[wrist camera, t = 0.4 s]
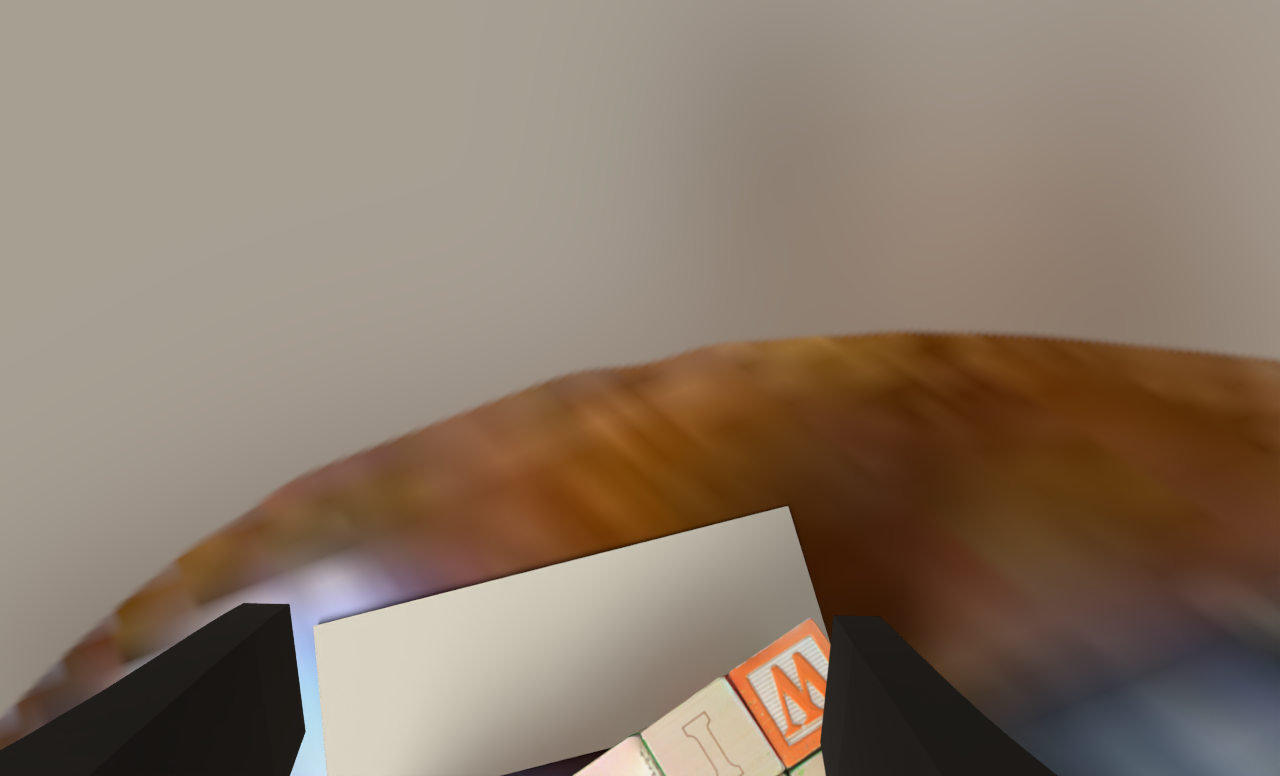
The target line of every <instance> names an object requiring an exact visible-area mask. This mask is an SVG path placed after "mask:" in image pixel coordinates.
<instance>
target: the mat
mask: <svg viewBox="0 0 1280 776" xmlns="http://www.w3.org/2000/svg"><path fill="white" fill-rule="evenodd" d="M809 617H810V618H813V620H814V621H815V622H816V624H817V625H818V626H819V628H820V629H821V631H822V632H823V633H824V635H825V636H826V638H827V639H828V641H829V638H828V635H827V631H826V628H825V625H824V622H823V618H822V615H821V612H820V609H819V605H818V602H817V599H816V595H815V592H814V589H813V586H812V582H811V579H810V576H809V573H808V569H807V566H806V563H805V560H804V556H803V553H802V550H801V546H800V543H799V540H798V537H797V533H796V530H795V527H794V524H793V520H792V517H791V514H790V510H789V507H788V506H786V507H782V508H778V509H774V510H770V511H766V512H762V513H758V514H754V515H750V516H746V517H742V518H738V519H734V520H730V521H726V522H722V523H718V524H714V525H711V526H707V527H703V528H699V529H695V530H691V531H687V532H683V533H679V534H675V535H671V536H667V537H663V538H659V539H655V540H651V541H647V542H643V543H639V544H635V545H632V546H628V547H624V548H620V549H616V550H612V551H608V552H604V553H600V554H596V555H592V556H588V557H584V558H580V559H576V560H572V561H568V562H564V563H560V564H556V565H553V566H549V567H545V568H541V569H537V570H533V571H529V572H525V573H521V574H517V575H513V576H509V577H505V578H501V579H497V580H493V581H489V582H485V583H481V584H477V585H474V586H470V587H466V588H462V589H458V590H454V591H450V592H446V593H442V594H438V595H434V596H430V597H426V598H422V599H418V600H414V601H410V602H406V603H402V604H398V605H395V606H391V607H387V608H383V609H379V610H375V611H371V612H367V613H363V614H359V615H355V616H351V617H347V618H343V619H339V620H335V621H331V622H327V623H323V624H319V625H316V626H313V628H314V639H315V650H316V660H317V671H318V682H319V693H320V704H321V714H322V725H323V736H324V747H325V758H326V768H327V776H501V775H505V774H509V773H513V772H517V771H521V770H525V769H529V768H533V767H537V766H541V765H545V764H549V763H552V762H556V761H560V760H564V759H568V758H572V757H576V756H580V755H584V754H588V753H592V752H596V751H600V750H604V749H608V748H612V747H613V746H615V745H616V744H618V743H620V742H621V741H622V740H624V739H625V738H627V737H628V736H630V735H632V734H635V733H637V732H638V731H640V730H641V729H643V728H645V727H648V726H650V725H652V724H653V723H654V722H656V721H657V720H659V719H660V718H661V717H663V716H664V715H666V714H667V713H668V712H670V711H671V710H673V709H674V708H676V707H677V706H678V705H680V704H681V703H683V702H684V701H685V700H687V699H688V698H690V697H691V696H692V695H694V694H695V693H697V692H698V691H700V690H701V689H702V688H704V687H705V686H707V685H708V684H709V683H711V682H712V681H714V680H715V679H716V678H718V677H719V676H722V675H727V674H728V673H729V672H730V671H731V670H732V669H733V668H735V667H736V666H738V665H739V664H741V663H742V662H744V661H745V660H747V659H748V658H750V657H751V656H753V655H754V654H756V653H757V652H759V651H760V650H762V649H763V648H765V647H766V646H768V645H769V644H771V643H772V642H774V641H775V640H776V639H778V638H779V637H781V636H782V635H784V634H785V633H787V632H788V631H790V630H791V629H792V628H794V627H795V626H797V625H798V624H800V623H801V622H803V621H804V620H806V619H807V618H809ZM829 642H830V641H829Z"/></svg>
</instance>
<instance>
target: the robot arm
mask: <svg viewBox="0 0 1280 776" xmlns="http://www.w3.org/2000/svg"><path fill="white" fill-rule="evenodd" d="M305 732H306V731H305V724H304V716H303V708H302V700H301V692H300V684H299V676H298V668H297V660H296V652H295V645H294V637H293V629H292V621H291V613H290V605H289V604H257V603H243V604H241V605H239V606H238V607H236V608H234V609H232V610H230V611H228V612H227V613H225V614H223V615H222V616H220V617H218V618H217V619H215V620H213V621H212V622H210V623H209V624H207V625H205V626H204V627H202V628H201V629H199V630H197V631H196V632H194V633H193V634H191V635H190V636H188V637H187V638H185V639H183V640H182V641H180V642H179V643H177V644H176V645H174V646H173V647H171V648H169V649H168V650H166V651H165V652H163V653H162V654H160V655H159V656H157V657H155V658H154V659H152V660H151V661H149V662H148V663H146V664H144V665H143V666H141V667H140V668H138V669H136V670H135V671H133V672H132V673H130V674H129V675H127V676H125V677H124V678H122V679H121V680H119V681H118V682H116V683H114V684H113V685H111V686H110V687H108V688H107V689H105V690H103V691H102V692H100V693H98V694H97V695H95V696H93V697H91V698H90V699H88V700H86V701H85V702H83V703H81V704H80V705H78V706H76V707H74V708H73V709H71V710H69V711H68V712H66V713H64V714H63V715H61V716H59V717H57V718H56V719H54V720H52V721H51V722H49V723H47V724H46V725H44V726H42V727H40V728H39V729H37V730H35V731H34V732H32V733H30V734H29V735H27V736H25V737H24V738H22V739H20V740H18V741H16V742H14V743H13V744H11V745H9V746H7V747H5V748H4V749H2V750H0V776H290V774H291V771H292V768H293V766H294V763H295V760H296V757H297V754H298V751H299V749H300V746H301V743H302V740H303V737H304V734H305ZM820 744H821V750H822V756H823V762H824V768H825V774H826V776H1057V775H1056V774H1055V773H1053V772H1052V771H1051V770H1050V769H1048V768H1047V767H1046V766H1045V765H1043V764H1042V763H1041V762H1040V761H1038V760H1037V759H1036V758H1035V757H1033V756H1032V755H1031V754H1030V753H1029V752H1027V751H1026V750H1025V749H1024V748H1022V747H1021V746H1020V745H1019V744H1018V743H1016V742H1015V741H1014V740H1013V739H1011V738H1010V737H1009V736H1008V735H1007V734H1005V733H1004V732H1003V731H1002V730H1001V729H1000V728H998V727H997V726H996V725H995V724H994V723H993V722H991V721H990V720H989V719H988V718H987V717H986V716H985V715H983V714H982V713H981V712H980V711H979V710H978V709H977V708H976V707H975V706H973V705H972V704H971V703H970V702H969V701H968V700H967V699H966V698H965V697H964V696H962V695H961V694H960V693H959V692H958V691H957V690H956V689H955V688H954V687H953V686H952V685H951V684H950V683H949V682H947V681H946V680H945V679H944V678H943V677H942V676H941V675H940V674H939V673H938V672H937V671H936V670H935V669H934V668H933V667H932V666H931V665H930V664H929V663H928V662H927V661H926V660H925V659H923V658H922V657H921V656H920V655H919V654H918V653H917V652H916V651H915V650H914V649H913V648H912V647H911V646H910V645H909V644H908V643H907V642H906V641H905V640H904V639H903V638H902V637H901V636H900V635H899V634H898V633H897V632H896V631H895V630H894V629H893V628H892V627H891V626H890V625H889V624H887V623H886V622H885V621H884V620H883V619H882V618H881V617H878V616H834V617H833V626H832V635H831V645H830V654H829V664H828V673H827V683H826V692H825V702H824V711H823V720H822V730H821V739H820Z"/></svg>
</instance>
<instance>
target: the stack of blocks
mask: <svg viewBox="0 0 1280 776" xmlns="http://www.w3.org/2000/svg"><path fill="white" fill-rule="evenodd" d="M830 645H831V644H830V642H829V641H828V639H827V638H826V636H825V635H824V633H823V632H822V631H821V629H820V628H819V626H818V625H817V624H816V622H815V621H814V620H813V618H810V617H809V618H807V619H806V620H804V621H803V622H801V623H800V624H798V625H797V626H795V627H794V628H792V629H791V630H790V631H788V632H787V633H785V634H784V635H782V636H781V637H779V638H778V639H776V640H775V641H774V642H772V643H771V644H769V645H768V646H766V647H765V648H763V649H762V650H760V651H759V652H757V653H756V654H754V655H753V656H751V657H750V658H748V659H747V660H745V661H744V662H742V663H741V664H739V665H738V666H736V667H735V668H733V669H732V670H731V671H730V672H729V673H728V674H727V675H722V676H719V677H718V678H716V679H715V680H714V681H712V682H711V683H709V684H708V685H707V686H705V687H704V688H702V689H701V690H700V691H698V692H697V693H695V694H694V695H692V696H691V697H690V698H688V699H687V700H685V701H684V702H683V703H681V704H680V705H678V706H677V707H676V708H674V709H673V710H671V711H670V712H668V713H667V714H666V715H664V716H663V717H661V718H660V719H659V720H657V721H656V722H654V723H653V724H652V725H650V726H648V727H645V728H643V729H641V730H640V731H638V732H637V733H635V734H632V735H630V736H628V737H627V738H625V739H624V740H622V741H621V742H620V743H618V744H616V745H615V746H613V747H612V748H611V749H609V750H608V751H607V752H605V753H604V754H603V755H601V756H600V757H598V758H597V759H595V760H594V761H592V762H591V763H589V764H588V765H587V766H585V767H584V768H582V769H581V770H580V771H578V772H577V773H575V774H574V775H572V776H826V774H825V768H824V762H823V756H822V750H821V744H820V739H821V730H822V720H823V711H824V702H825V692H826V683H827V673H828V664H829V654H830Z"/></svg>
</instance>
